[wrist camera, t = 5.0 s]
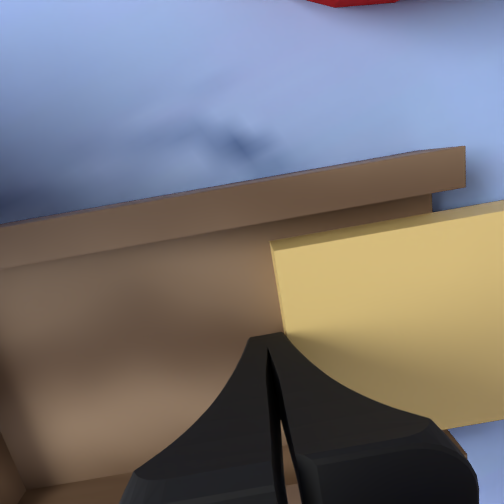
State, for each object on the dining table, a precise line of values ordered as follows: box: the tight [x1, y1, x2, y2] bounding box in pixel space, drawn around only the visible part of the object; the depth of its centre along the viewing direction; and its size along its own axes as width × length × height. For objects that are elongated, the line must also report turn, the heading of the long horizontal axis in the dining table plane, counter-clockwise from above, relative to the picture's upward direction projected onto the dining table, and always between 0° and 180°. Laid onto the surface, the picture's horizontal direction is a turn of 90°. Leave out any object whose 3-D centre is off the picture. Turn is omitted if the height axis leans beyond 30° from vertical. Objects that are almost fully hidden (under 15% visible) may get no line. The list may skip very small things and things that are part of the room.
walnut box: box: [0, 146, 467, 504], centre depth 12 cm, size 12×19×3 cm, turn 100°
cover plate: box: [269, 200, 504, 430], centre depth 12 cm, size 8×9×2 cm
